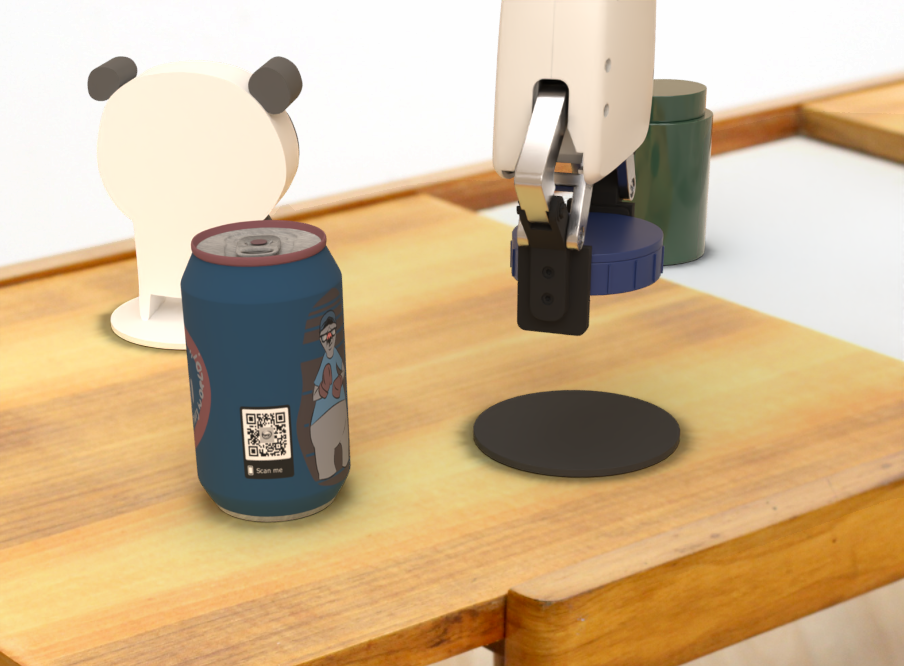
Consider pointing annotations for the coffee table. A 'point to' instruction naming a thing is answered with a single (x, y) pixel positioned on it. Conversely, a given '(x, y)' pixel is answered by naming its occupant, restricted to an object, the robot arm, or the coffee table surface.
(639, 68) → the robot arm
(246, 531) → the coffee table surface
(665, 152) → the jar
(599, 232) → the jar lid
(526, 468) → the coaster
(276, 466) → the soda can
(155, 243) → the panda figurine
